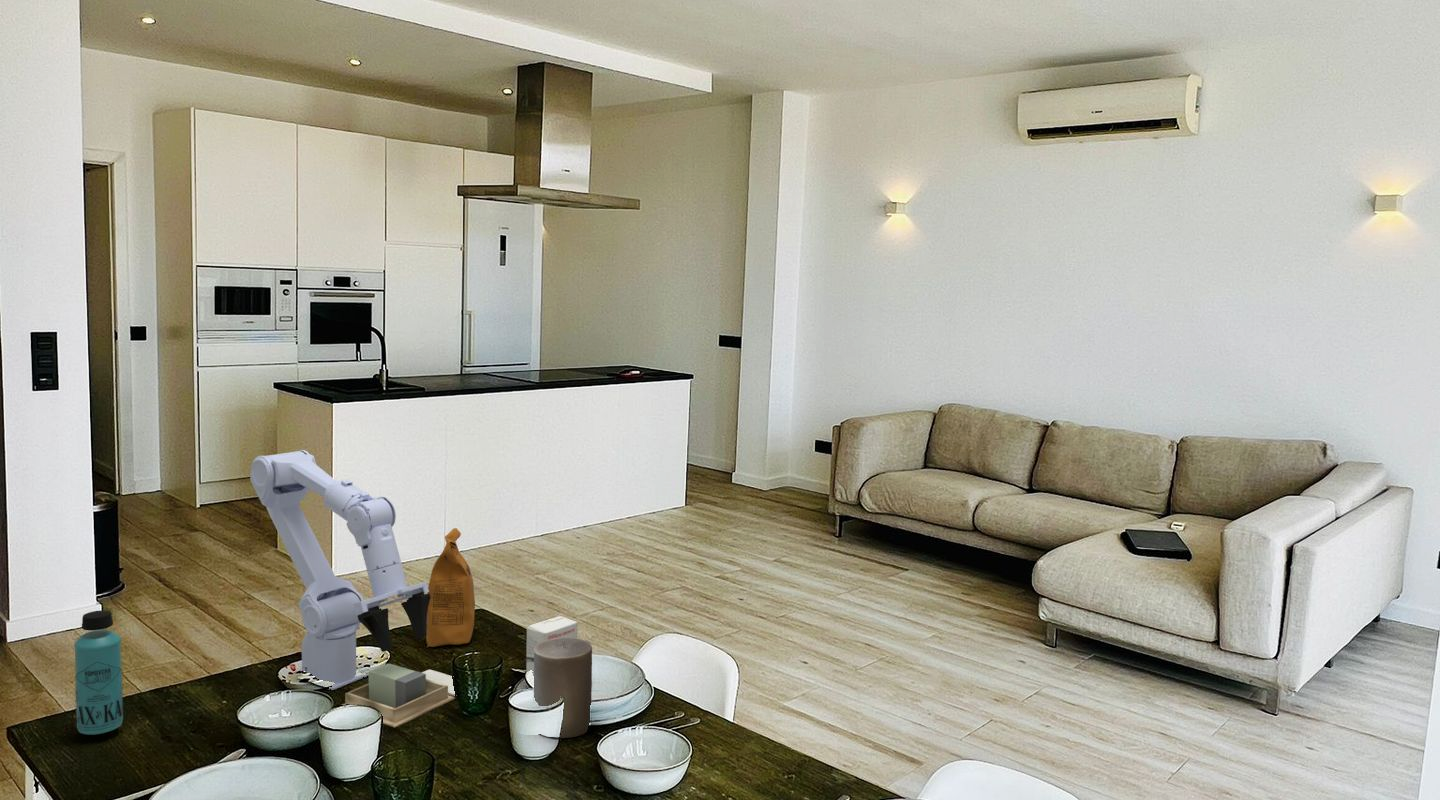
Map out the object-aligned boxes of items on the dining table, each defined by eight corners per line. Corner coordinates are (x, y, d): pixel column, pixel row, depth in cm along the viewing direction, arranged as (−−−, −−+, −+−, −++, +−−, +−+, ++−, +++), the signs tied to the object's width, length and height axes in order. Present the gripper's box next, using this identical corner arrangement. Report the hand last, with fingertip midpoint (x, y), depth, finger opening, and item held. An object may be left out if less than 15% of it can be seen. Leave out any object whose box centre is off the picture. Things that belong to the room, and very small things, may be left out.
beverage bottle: (71, 734, 158) (65, 612, 156) (118, 721, 163) (113, 603, 161) (83, 748, 154) (78, 623, 151) (131, 735, 159) (126, 613, 156)
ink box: (543, 696, 179) (544, 633, 177) (524, 688, 181) (525, 626, 180) (578, 682, 185) (579, 620, 184) (559, 675, 188) (560, 614, 187)
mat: (406, 680, 183) (406, 679, 183) (429, 670, 188) (429, 669, 188) (454, 696, 177) (454, 694, 177) (477, 685, 182) (477, 683, 182)
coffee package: (479, 627, 212) (480, 526, 209) (472, 649, 200) (472, 541, 197) (431, 627, 211) (431, 525, 208) (420, 649, 198) (420, 541, 196)
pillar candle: (603, 727, 167) (604, 640, 166) (555, 745, 160) (556, 654, 159) (568, 709, 174) (569, 625, 172) (520, 725, 167) (521, 638, 165)
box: (368, 702, 174) (368, 671, 173) (389, 693, 178) (389, 662, 177) (405, 714, 169) (405, 682, 169) (426, 704, 173) (425, 674, 173)
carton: (338, 707, 171) (338, 693, 171) (399, 681, 183) (399, 668, 182) (394, 727, 164) (394, 713, 164) (454, 698, 176) (454, 685, 176)
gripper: (365, 571, 164) (386, 652, 163) (431, 553, 177) (451, 628, 176) (338, 580, 168) (359, 659, 167) (405, 562, 180) (424, 635, 179)
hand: (404, 644), depth 172 cm, fingers open, 7 cm apart
